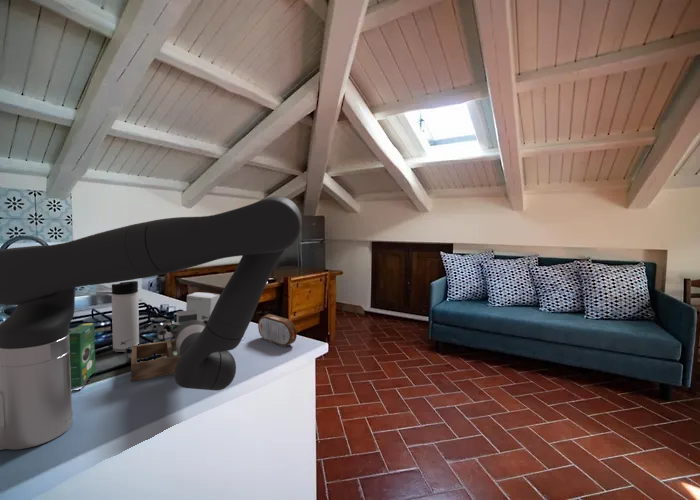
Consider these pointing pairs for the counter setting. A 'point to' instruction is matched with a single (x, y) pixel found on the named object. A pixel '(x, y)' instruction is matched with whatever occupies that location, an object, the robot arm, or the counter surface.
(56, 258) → the robot arm
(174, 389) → the counter surface
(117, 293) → the travel mug
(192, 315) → the teal square bottle
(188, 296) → the skincare box
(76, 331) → the coffee box
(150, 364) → the caddy
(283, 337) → the tin
